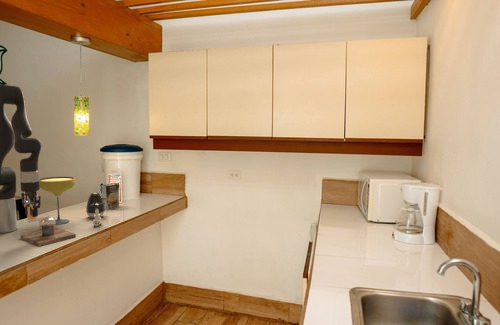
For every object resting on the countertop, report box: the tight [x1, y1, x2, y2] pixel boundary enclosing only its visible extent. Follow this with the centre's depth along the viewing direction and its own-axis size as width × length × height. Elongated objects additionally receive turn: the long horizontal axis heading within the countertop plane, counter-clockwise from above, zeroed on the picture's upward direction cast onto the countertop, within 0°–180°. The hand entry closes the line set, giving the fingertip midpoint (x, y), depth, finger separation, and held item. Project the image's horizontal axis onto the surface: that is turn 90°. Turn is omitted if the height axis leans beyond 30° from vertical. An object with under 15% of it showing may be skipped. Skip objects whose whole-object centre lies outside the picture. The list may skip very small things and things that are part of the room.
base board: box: [19, 225, 77, 247], centre depth 172 cm, size 19×17×6 cm
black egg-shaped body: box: [85, 191, 106, 219], centre depth 211 cm, size 10×10×15 cm
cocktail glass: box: [39, 176, 76, 226], centre depth 198 cm, size 18×18×25 cm
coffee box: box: [101, 183, 120, 211], centre depth 233 cm, size 9×6×16 cm
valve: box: [90, 203, 103, 227], centre depth 194 cm, size 7×7×12 cm
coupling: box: [27, 206, 57, 228], centre depth 169 cm, size 7×12×11 cm, turn 146°
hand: (31, 215), depth 165 cm, fingers open, 6 cm apart
